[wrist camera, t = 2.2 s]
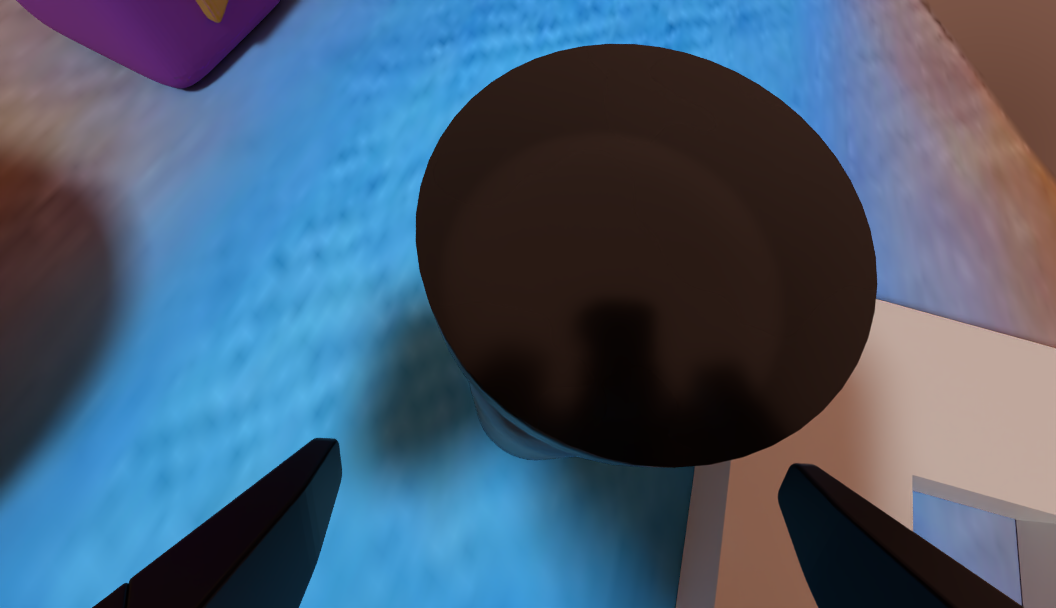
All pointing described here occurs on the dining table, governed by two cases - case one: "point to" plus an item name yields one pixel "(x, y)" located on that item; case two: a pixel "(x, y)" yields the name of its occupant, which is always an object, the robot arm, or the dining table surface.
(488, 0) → the dining table surface
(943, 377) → the mount plate
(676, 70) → the tube
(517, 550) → the dining table surface
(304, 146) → the dining table surface
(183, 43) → the toy camera
